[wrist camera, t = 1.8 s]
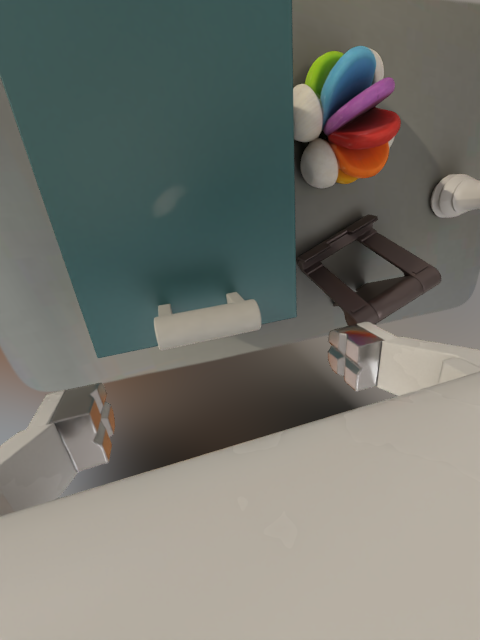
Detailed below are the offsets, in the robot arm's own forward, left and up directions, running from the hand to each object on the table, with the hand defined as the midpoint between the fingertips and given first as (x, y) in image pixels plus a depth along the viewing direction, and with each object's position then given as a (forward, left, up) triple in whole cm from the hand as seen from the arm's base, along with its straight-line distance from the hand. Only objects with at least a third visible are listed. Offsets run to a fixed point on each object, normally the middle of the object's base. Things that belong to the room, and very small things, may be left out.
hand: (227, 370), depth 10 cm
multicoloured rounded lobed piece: (-18, +2, -19) cm, 26 cm away
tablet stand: (-11, +13, -19) cm, 26 cm away
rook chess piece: (-25, +17, -19) cm, 36 cm away
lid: (-4, -5, -8) cm, 10 cm away
